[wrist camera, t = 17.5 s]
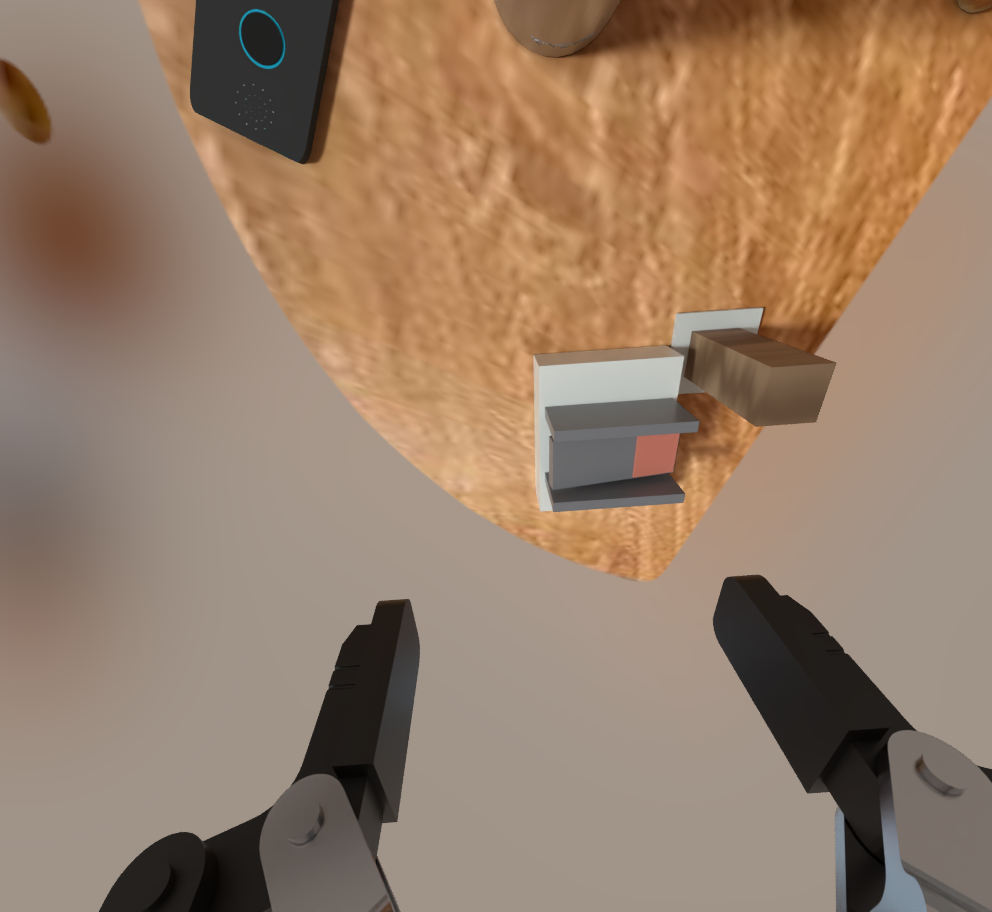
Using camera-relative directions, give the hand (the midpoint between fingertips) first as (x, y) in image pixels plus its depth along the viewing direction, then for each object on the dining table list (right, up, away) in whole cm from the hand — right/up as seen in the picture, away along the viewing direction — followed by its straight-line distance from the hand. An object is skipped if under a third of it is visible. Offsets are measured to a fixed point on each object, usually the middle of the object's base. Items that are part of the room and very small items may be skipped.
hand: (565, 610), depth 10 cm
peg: (+19, +14, +29) cm, 38 cm away
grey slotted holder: (+9, +7, +33) cm, 35 cm away
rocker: (+9, +4, +27) cm, 29 cm away
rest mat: (+19, +14, +30) cm, 38 cm away
